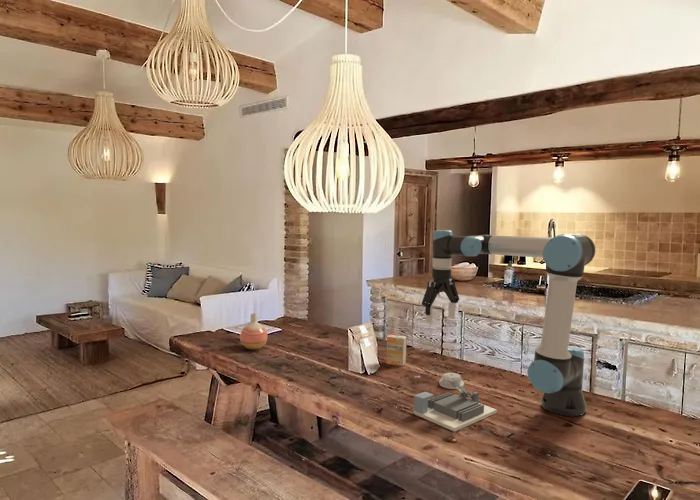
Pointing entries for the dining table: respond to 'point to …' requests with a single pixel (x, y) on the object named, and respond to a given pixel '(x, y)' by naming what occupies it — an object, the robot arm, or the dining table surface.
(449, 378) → the strap
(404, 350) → the supplement box
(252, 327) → the vase
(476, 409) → the mechanical assembly board
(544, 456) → the dining table surface
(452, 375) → the beige hat
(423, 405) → the blue-grey block
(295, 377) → the dining table surface
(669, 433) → the dining table surface
